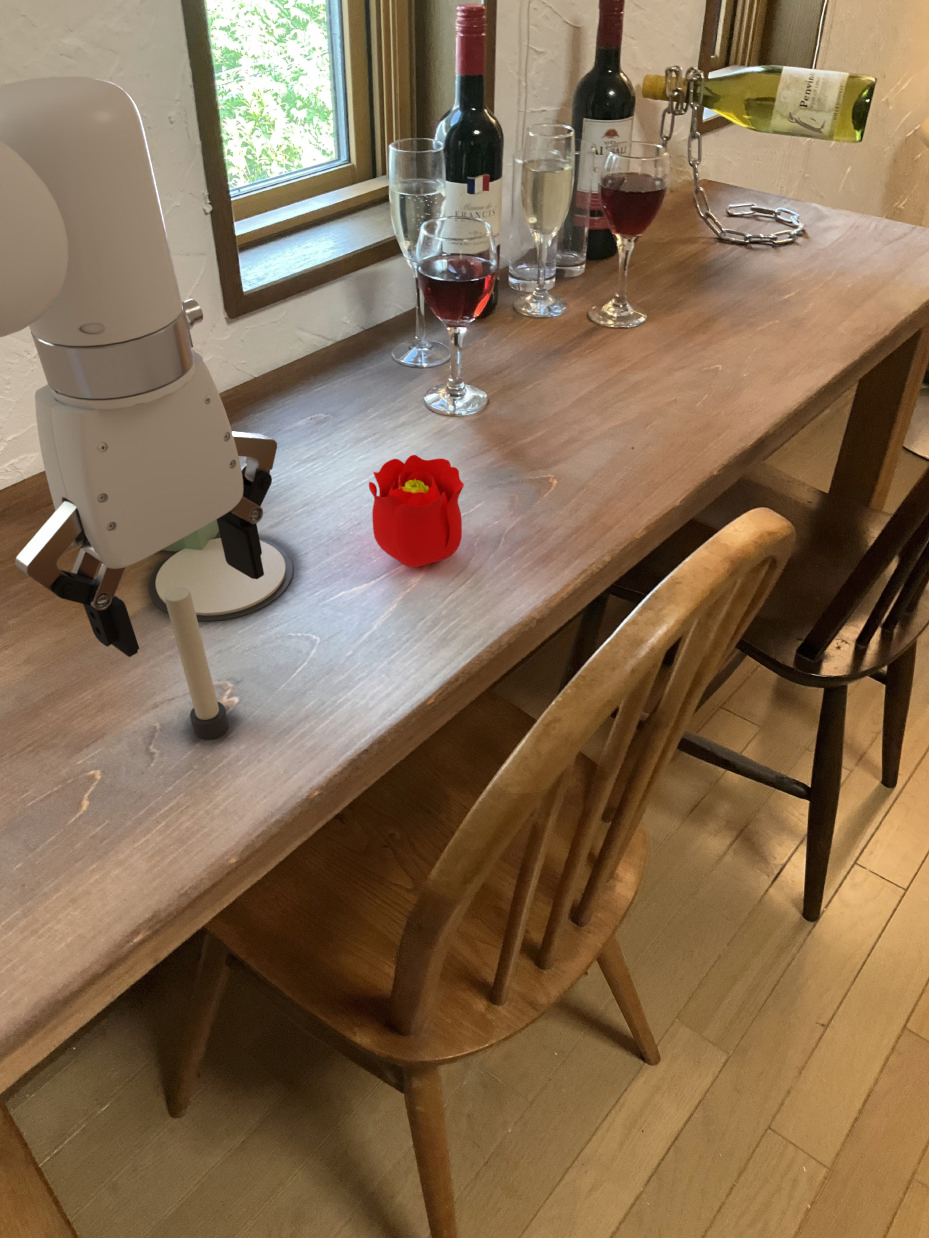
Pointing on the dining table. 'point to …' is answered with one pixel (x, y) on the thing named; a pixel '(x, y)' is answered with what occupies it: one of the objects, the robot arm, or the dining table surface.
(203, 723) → the pen
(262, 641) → the dining table surface
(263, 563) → the beige coaster disc
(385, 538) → the flower
